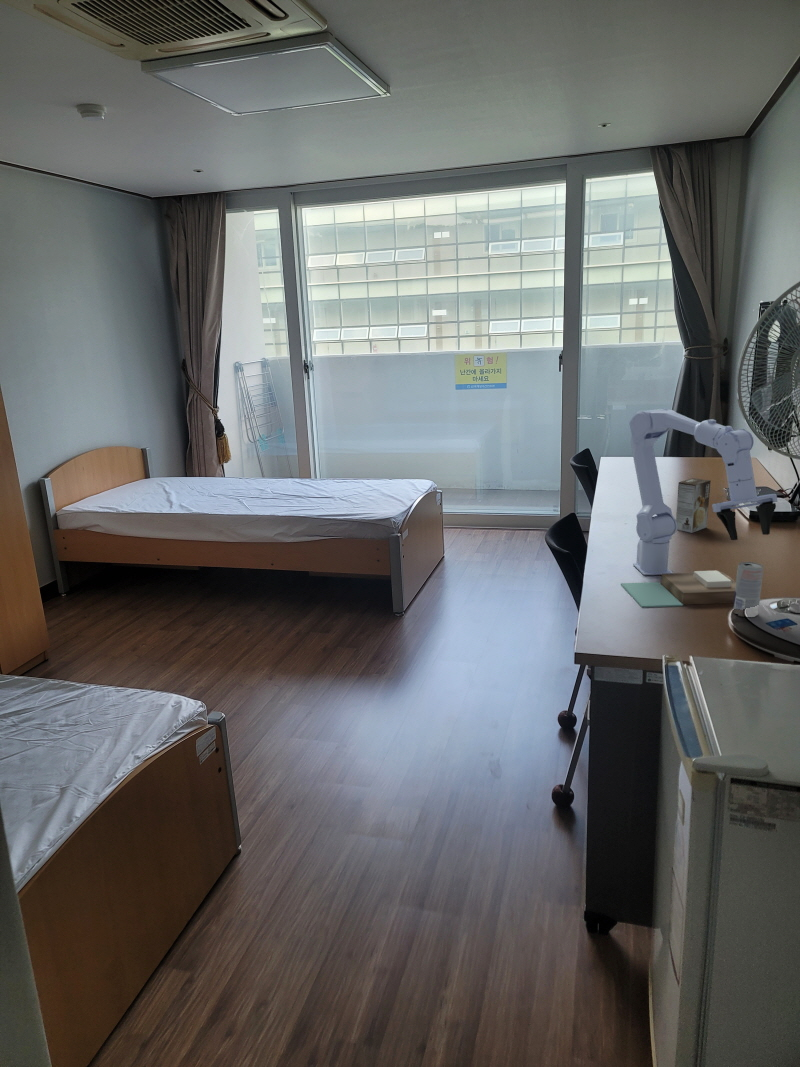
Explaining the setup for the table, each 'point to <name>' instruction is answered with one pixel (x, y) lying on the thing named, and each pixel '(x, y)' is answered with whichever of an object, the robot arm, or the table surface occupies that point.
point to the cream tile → (712, 579)
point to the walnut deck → (697, 589)
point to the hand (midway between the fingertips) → (750, 537)
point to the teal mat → (651, 594)
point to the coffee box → (692, 504)
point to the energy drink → (748, 585)
